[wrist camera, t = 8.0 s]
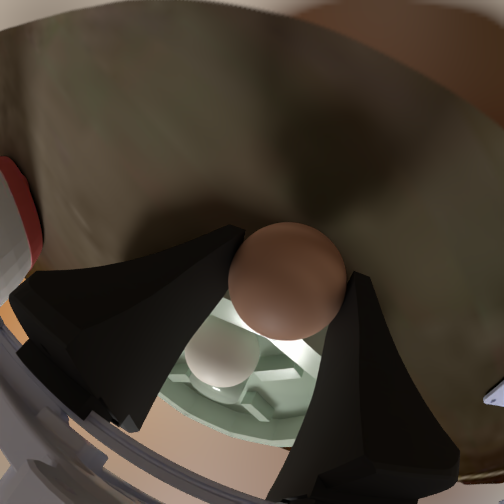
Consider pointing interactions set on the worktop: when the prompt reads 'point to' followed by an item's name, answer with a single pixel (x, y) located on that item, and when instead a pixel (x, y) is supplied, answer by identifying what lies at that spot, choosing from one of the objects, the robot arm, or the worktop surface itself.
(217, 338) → the ivory bead
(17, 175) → the citrus juicer
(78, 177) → the worktop surface
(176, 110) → the worktop surface
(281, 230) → the terracotta bead
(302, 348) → the tray
